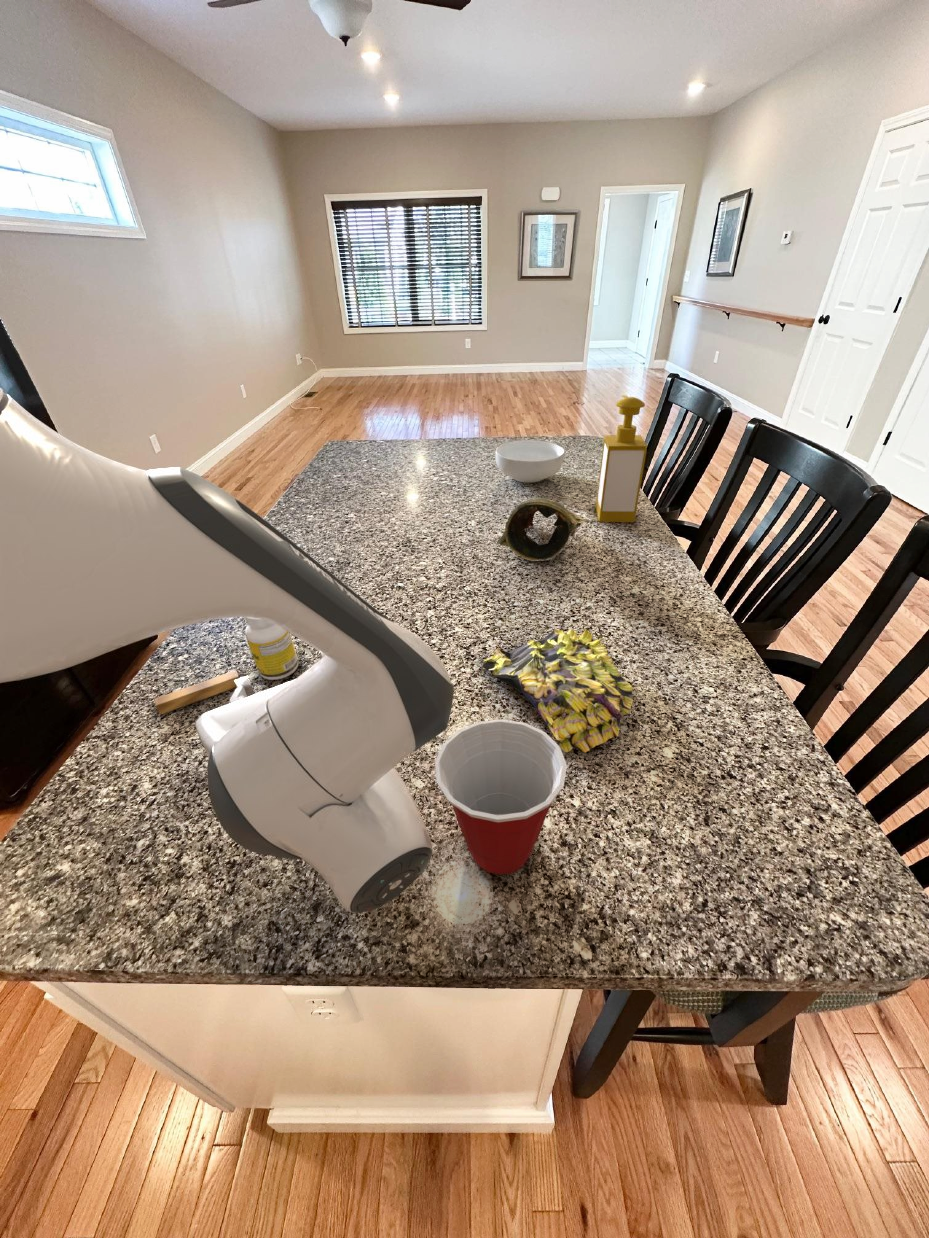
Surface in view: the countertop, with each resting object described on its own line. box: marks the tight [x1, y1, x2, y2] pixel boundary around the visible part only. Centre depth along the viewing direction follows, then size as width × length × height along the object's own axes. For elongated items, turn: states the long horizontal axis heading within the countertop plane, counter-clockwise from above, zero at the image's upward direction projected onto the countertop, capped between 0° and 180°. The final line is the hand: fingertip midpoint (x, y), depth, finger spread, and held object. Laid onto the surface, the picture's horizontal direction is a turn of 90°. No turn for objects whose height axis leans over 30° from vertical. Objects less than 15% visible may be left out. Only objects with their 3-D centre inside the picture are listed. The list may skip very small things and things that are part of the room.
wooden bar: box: [154, 669, 240, 715], centre depth 67 cm, size 10×2×2 cm, turn 122°
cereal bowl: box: [495, 439, 566, 484], centre depth 128 cm, size 17×17×7 cm
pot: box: [495, 497, 590, 562], centre depth 97 cm, size 17×11×18 cm
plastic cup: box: [434, 718, 568, 876], centre depth 45 cm, size 11×11×12 cm
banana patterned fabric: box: [482, 628, 634, 753], centre depth 64 cm, size 20×16×6 cm
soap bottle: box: [595, 394, 648, 523], centre depth 105 cm, size 7×13×24 cm, turn 174°
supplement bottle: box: [244, 617, 300, 681], centre depth 68 cm, size 5×5×10 cm
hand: (285, 667), depth 59 cm, fingers open, 8 cm apart
